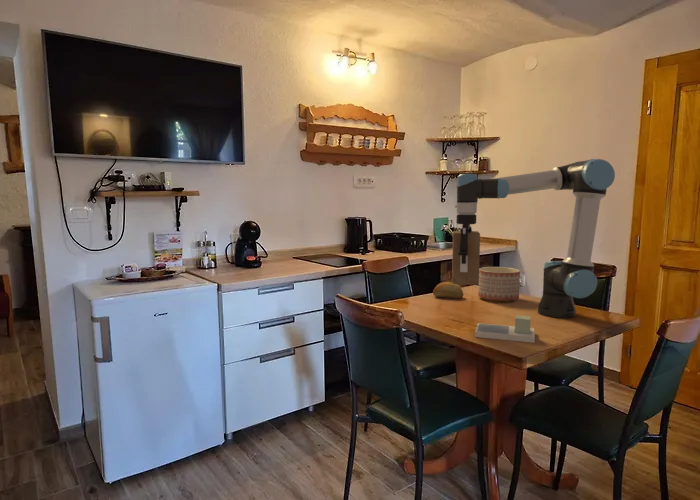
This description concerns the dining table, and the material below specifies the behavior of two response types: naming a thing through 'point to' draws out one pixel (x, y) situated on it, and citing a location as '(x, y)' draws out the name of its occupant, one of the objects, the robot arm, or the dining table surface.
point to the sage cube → (522, 324)
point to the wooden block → (473, 259)
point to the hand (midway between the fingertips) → (465, 269)
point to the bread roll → (448, 290)
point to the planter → (499, 284)
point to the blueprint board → (503, 333)
